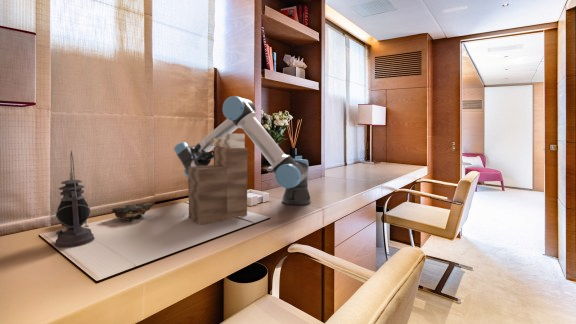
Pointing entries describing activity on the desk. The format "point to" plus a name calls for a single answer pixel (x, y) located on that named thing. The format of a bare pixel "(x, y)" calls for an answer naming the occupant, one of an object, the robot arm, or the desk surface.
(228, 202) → the stand
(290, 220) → the desk surface
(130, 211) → the fossil rock
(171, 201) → the desk surface
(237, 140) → the pale wooden block
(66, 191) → the lantern
